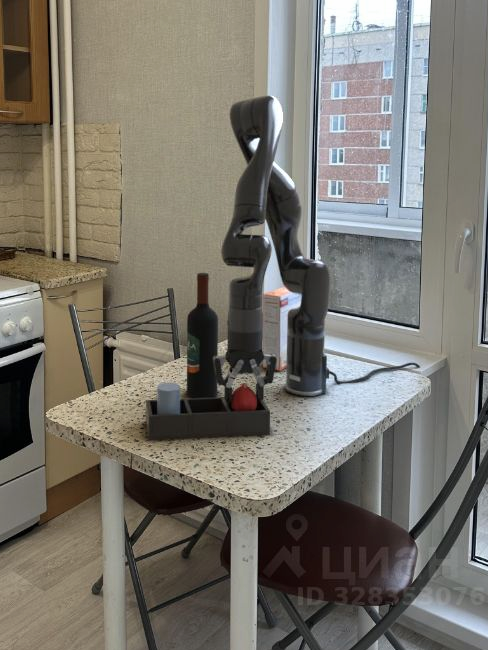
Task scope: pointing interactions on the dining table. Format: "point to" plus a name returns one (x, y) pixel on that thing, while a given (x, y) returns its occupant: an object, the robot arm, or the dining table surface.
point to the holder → (206, 420)
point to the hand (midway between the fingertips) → (244, 402)
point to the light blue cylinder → (168, 398)
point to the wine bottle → (202, 344)
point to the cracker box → (277, 323)
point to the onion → (244, 399)
